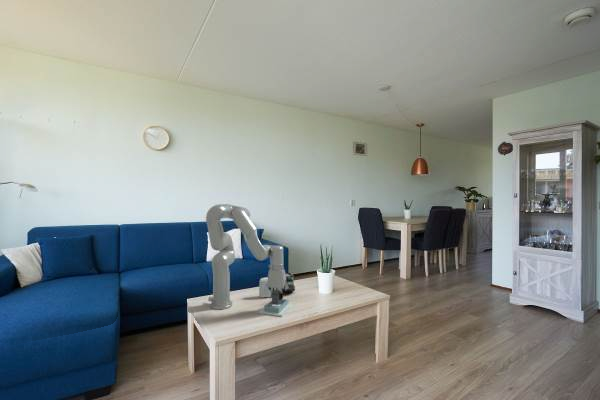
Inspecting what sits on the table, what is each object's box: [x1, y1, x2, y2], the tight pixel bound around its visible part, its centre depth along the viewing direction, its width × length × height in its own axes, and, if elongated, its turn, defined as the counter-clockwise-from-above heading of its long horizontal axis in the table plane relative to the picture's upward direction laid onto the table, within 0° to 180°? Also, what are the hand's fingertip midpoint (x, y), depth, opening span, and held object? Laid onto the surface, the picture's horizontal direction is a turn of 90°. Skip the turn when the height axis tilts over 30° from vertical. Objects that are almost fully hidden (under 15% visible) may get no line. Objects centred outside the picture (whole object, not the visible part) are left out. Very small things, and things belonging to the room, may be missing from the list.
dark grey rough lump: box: [275, 272, 296, 293], centre depth 197 cm, size 15×12×14 cm
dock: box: [258, 298, 294, 318], centre depth 166 cm, size 14×18×4 cm
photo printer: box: [258, 276, 275, 298], centre depth 186 cm, size 10×4×12 cm, turn 98°
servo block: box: [270, 288, 282, 305], centre depth 166 cm, size 4×10×8 cm, turn 161°
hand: (277, 298), depth 166 cm, fingers closed on servo block, 4 cm apart
